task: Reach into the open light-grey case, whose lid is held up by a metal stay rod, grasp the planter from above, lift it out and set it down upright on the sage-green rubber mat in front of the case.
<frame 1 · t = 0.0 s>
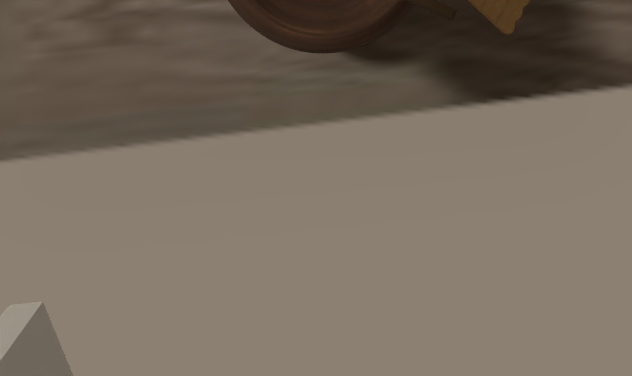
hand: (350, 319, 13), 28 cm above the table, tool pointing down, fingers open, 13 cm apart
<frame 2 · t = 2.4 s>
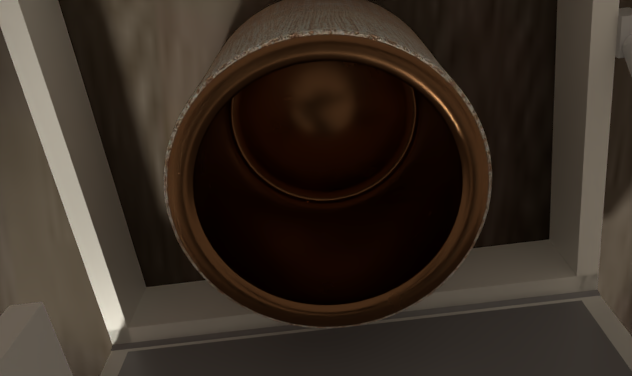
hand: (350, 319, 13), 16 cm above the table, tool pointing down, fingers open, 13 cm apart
case: (323, 111, 28), on the table
planter: (323, 109, 28), resting in case
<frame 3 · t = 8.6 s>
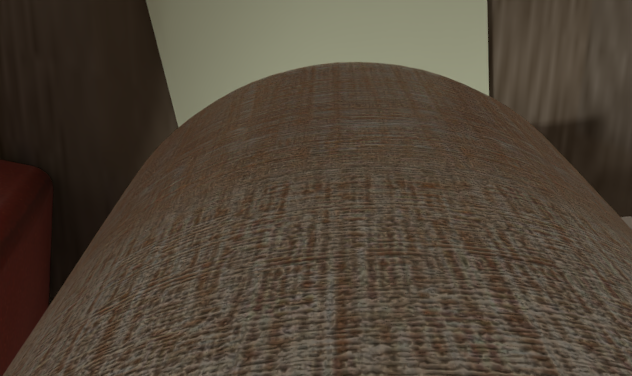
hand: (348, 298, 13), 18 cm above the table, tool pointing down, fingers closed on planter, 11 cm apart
mat: (326, 74, 30), on the table
planter: (348, 274, 14), point 17 cm above the table, touching gripper
when the fingers open (2 cm above the table, at t = 12.7 s): planter stays where it is, resting on mat.
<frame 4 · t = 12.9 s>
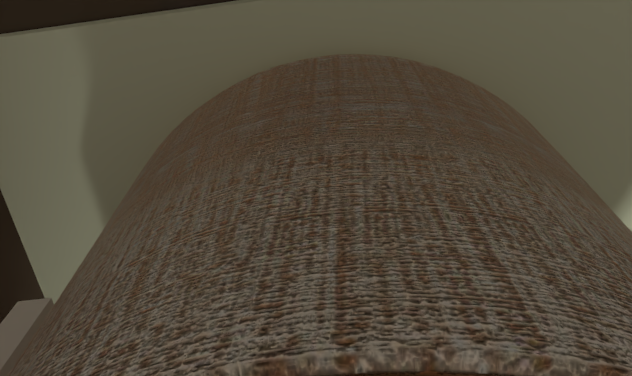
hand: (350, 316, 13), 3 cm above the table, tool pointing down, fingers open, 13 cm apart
mat: (345, 247, 15), on the table
planter: (348, 257, 15), resting on mat
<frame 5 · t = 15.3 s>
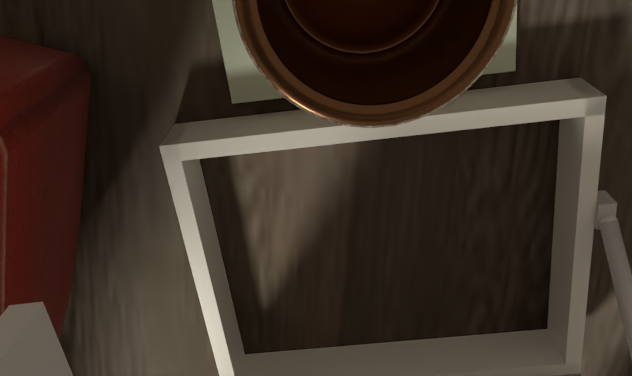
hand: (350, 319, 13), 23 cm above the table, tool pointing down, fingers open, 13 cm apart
case: (384, 240, 38), on the table
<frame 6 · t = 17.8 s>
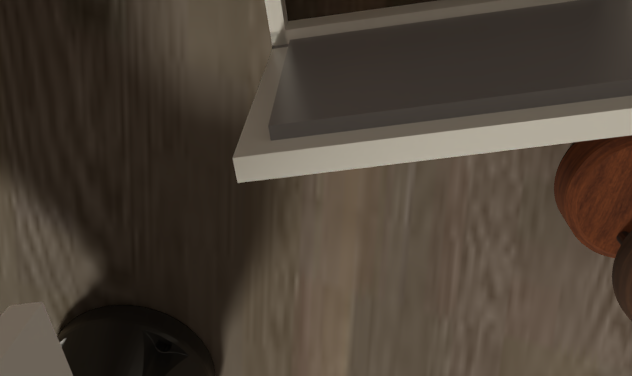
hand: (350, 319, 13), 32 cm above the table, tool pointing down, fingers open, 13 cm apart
music box: (613, 186, 46), on the table
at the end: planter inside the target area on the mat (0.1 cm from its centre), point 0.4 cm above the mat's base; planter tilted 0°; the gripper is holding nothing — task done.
